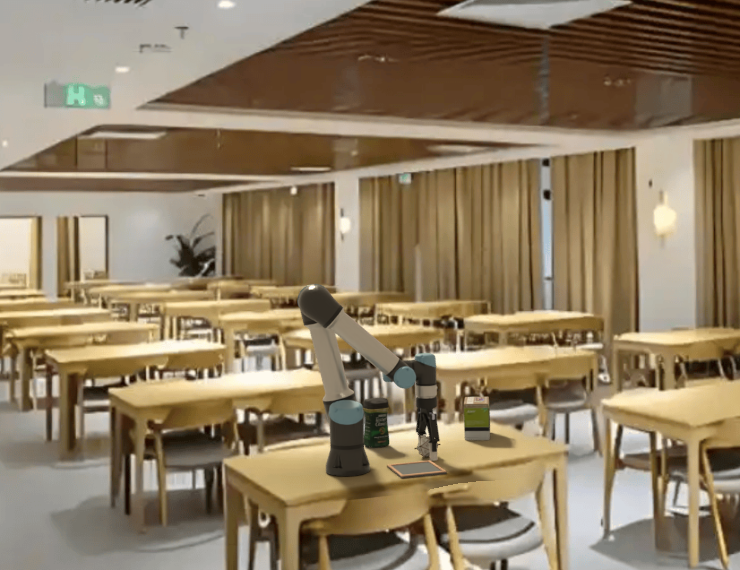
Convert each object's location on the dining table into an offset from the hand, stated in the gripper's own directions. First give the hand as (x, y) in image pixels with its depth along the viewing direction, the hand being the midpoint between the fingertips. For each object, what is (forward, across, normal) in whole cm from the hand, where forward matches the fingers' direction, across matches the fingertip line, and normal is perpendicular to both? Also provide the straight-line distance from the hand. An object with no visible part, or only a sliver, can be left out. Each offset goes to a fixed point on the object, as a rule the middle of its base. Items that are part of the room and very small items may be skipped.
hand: (428, 456), depth 331 cm
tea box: (+1, +25, -30) cm, 39 cm away
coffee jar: (0, +24, +12) cm, 27 cm away
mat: (0, -16, +10) cm, 19 cm away
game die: (0, 0, 0) cm, 0 cm away
